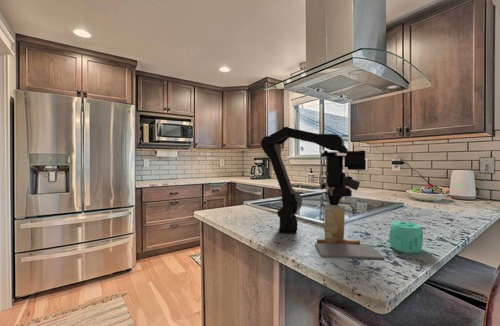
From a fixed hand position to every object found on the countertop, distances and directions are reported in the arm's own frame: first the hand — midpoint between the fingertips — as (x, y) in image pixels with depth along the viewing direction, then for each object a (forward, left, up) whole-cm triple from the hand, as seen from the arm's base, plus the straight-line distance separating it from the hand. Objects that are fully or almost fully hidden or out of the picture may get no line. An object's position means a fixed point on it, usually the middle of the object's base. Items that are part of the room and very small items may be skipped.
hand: (333, 212), depth 87 cm
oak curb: (0, -6, -10) cm, 11 cm away
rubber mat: (+1, -12, -10) cm, 15 cm away
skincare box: (0, -2, -9) cm, 9 cm away
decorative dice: (+21, -8, -10) cm, 24 cm away
